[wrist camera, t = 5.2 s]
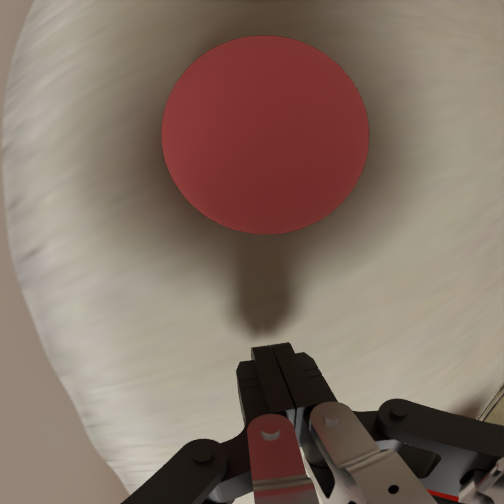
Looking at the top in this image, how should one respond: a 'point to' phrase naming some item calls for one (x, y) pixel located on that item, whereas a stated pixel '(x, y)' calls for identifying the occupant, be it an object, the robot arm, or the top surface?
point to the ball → (265, 134)
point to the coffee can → (495, 410)
